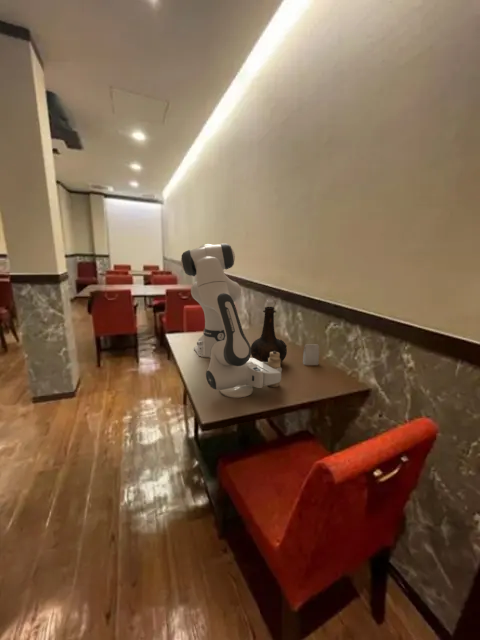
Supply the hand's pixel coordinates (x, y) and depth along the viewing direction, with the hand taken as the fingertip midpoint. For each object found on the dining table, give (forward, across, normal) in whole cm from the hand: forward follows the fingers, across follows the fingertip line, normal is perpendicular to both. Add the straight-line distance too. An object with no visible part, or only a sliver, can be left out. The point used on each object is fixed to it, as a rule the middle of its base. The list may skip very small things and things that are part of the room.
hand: (275, 366), depth 126 cm
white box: (+31, -12, -8) cm, 34 cm away
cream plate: (-17, -3, -8) cm, 19 cm away
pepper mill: (-1, 0, -8) cm, 8 cm away
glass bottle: (+13, -23, -8) cm, 28 cm away
